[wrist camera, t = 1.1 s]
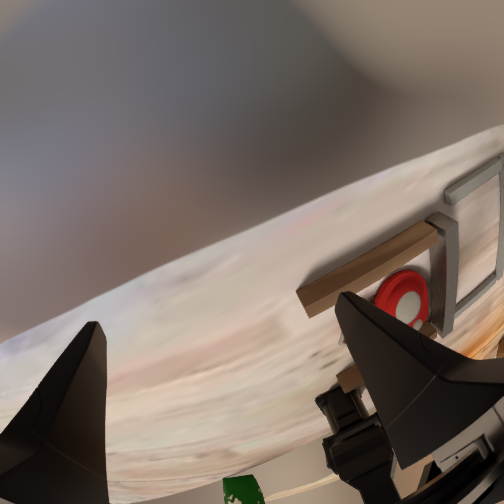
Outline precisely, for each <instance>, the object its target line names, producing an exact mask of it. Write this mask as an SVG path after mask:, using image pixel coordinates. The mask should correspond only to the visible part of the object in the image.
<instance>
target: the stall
mask: <svg viewBox="0 0 504 504" xmlns="http://www.w3.org/2000/svg"><path fill="white" fill-rule="evenodd" d="M437 242H438V237H437V229H435V228H434V227H432V226H430V225H429V224H427V223H425V222H424V221H422V220H421V221H419V222H418V223H416V224H414V225H413V226H411V227H410V228H408V229H406V230H405V231H403V232H401V233H400V234H398V235H396V236H395V237H393V238H391V239H390V240H388V241H386V242H385V243H383V244H381V245H379V246H378V247H376V248H374V249H373V250H371V251H369V252H367V253H366V254H364V255H362V256H360V257H358V258H357V259H355V260H353V261H351V262H350V263H348V264H346V265H344V266H342V267H341V268H339V269H337V270H335V271H333V272H331V273H330V274H328V275H326V276H324V277H322V278H320V279H318V280H316V281H315V282H313V283H311V284H309V285H307V286H305V287H303V288H301V289H299V290H297V291H296V293H297V295H298V297H299V299H300V301H301V303H302V305H303V307H304V309H305V311H306V313H307V315H308V317H309V319H310V318H311V317H313V316H315V315H317V314H319V313H321V312H323V311H325V310H327V309H329V308H330V307H332V306H334V305H336V302H337V299H338V295H339V293H340V292H343V291H351V292H353V293H355V294H356V293H357V292H359V291H361V290H363V289H364V288H366V287H368V286H370V285H371V284H373V283H375V282H376V281H378V280H380V279H381V278H383V277H385V276H386V275H388V274H389V273H391V272H393V271H394V270H396V269H398V268H399V267H401V266H402V265H404V264H405V263H407V262H409V261H410V260H412V259H413V258H415V257H416V256H418V255H419V254H421V253H422V252H424V251H425V250H427V249H428V248H430V247H431V246H433V245H434V244H436V243H437ZM418 331H419V332H421V333H422V334H424V335H426V336H427V337H429V338H431V339H432V340H434V339H435V338H436V337H437V330H436V329H435V328H434V327H433V326H432V325H431V323H430V322H429V321H428V320H427V321H426V322H424V324H423V325H422V326H421V328H420V329H419V330H418ZM336 377H337V379H338V381H339V383H340V385H341V387H342V389H343V391H344V393H345V394H346V393H348V392H350V391H352V390H354V389H355V388H357V387H359V386H361V385H363V384H365V383H364V381H363V379H362V377H361V375H360V372H359V370H358V368H357V366H356V365H355V366H353V367H352V368H350V369H348V370H346V371H344V372H342V373H340V374H338V375H336Z"/></svg>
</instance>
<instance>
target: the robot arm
mask: <svg viewBox="0 0 504 504" xmlns="http://www.w3.org/2000/svg"><path fill="white" fill-rule="evenodd" d="M335 314H336V317H337V319H338V322H339V325H340V328H341V331H342V333H343V336H344V339H345V342H346V344H347V347H348V349H349V351H350V353H351V355H352V357H353V360H354V362H355V364H356V366H357V368H358V370H359V372H360V375H361V377H362V379H363V381H364V383H365V385H366V388H367V390H368V392H369V394H370V397H371V399H372V401H373V403H374V406H375V408H376V410H377V412H375V413H374V414H373V415H371V416H370V415H369V413H368V411H367V410H366V408H365V406H364V404H363V402H362V400H361V398H362V396H361V393H360V390H359V387H357V388H355V389H354V390H352V391H350V392H348V393H346V394H345V393H344V391H343V389H342V387H340V388H338V389H336V390H334V391H332V392H330V393H328V394H325V395H323V396H321V397H319V398H317V399H316V400H315V402H316V404H317V405H318V407H319V408H320V410H321V411H322V412H323V414H324V415H325V416H326V417H327V420H328V422H329V425H330V427H331V429H332V432H333V434H334V435H332V436H330V437H327V438H324V439H323V443H322V445H323V448H324V451H325V455H326V462H327V467H328V468H329V469H332V470H333V471H334V473H335V474H336V475H338V474H339V477H340V479H341V480H343V481H344V482H346V483H347V484H349V485H350V486H352V487H354V488H355V489H357V490H359V492H360V494H361V497H362V499H363V502H364V504H495V503H498V502H500V501H502V500H504V357H502V358H494V359H485V360H475V359H471V358H468V357H466V356H464V355H462V354H460V353H458V352H456V351H454V350H452V349H450V348H447V347H445V346H444V345H442V344H440V343H438V342H436V341H434V340H432V339H431V338H429V337H427V336H426V335H424V334H422V333H421V332H419V331H417V330H416V329H414V328H412V327H411V326H409V325H407V324H405V323H404V322H402V321H400V320H399V319H397V318H395V317H394V316H392V315H390V314H389V313H387V312H385V311H384V310H382V309H380V308H379V307H377V306H375V305H373V304H372V303H370V302H368V301H367V300H365V299H363V298H362V297H360V296H358V295H356V294H355V293H353V292H351V291H343V292H340V293H339V295H338V299H337V302H336V305H335ZM106 390H107V341H106V336H105V334H104V332H103V330H102V328H101V326H100V324H99V322H98V321H90V322H87V323H86V324H85V325H84V327H83V328H82V329H81V330H80V332H79V333H78V334H77V335H76V336H75V338H74V339H73V340H72V341H71V343H70V344H69V345H68V346H67V348H66V349H65V350H64V352H63V353H62V354H61V355H60V357H59V358H58V359H57V361H56V362H55V363H54V365H53V366H52V367H51V368H50V370H49V371H48V373H47V374H46V375H45V377H44V378H43V379H42V381H41V382H40V383H39V385H38V388H36V389H35V390H34V392H33V393H32V395H31V396H30V397H29V399H28V400H27V401H26V403H25V404H24V405H23V407H22V408H21V409H20V410H19V412H18V413H17V414H16V415H15V417H14V418H13V419H12V420H11V422H10V423H9V424H8V425H7V427H6V428H5V429H4V430H3V432H2V433H1V434H0V504H109V496H108V485H107V474H106V453H105V412H106ZM380 425H381V426H380ZM392 448H393V450H392ZM393 451H394V452H393ZM394 453H395V454H394ZM429 454H432V457H433V458H434V460H433V461H431V462H430V463H428V464H427V465H425V467H424V470H423V473H422V476H421V479H420V483H419V485H418V488H417V491H415V492H413V493H412V494H410V495H409V496H407V497H405V498H404V499H402V498H401V496H400V494H399V492H398V490H397V487H396V485H395V483H394V481H393V479H394V474H395V469H396V464H397V461H398V463H399V465H400V468H401V469H402V470H403V469H405V468H407V467H409V466H411V465H412V464H414V463H416V462H418V461H419V460H421V459H423V458H424V457H426V456H427V455H429ZM396 458H397V459H396Z"/></svg>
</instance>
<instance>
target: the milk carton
mask: <svg viewBox="0 0 504 504" xmlns="http://www.w3.org/2000/svg"><path fill="white" fill-rule="evenodd" d="M223 491H224V501H225V504H265V501H264V497H263V494H262V492H261V489H260V487H259V485H258V483H257V481H256V479H255V478H254V476H253V475H252V474H251V475H245V476H238V477H232V478H223Z"/></svg>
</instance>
